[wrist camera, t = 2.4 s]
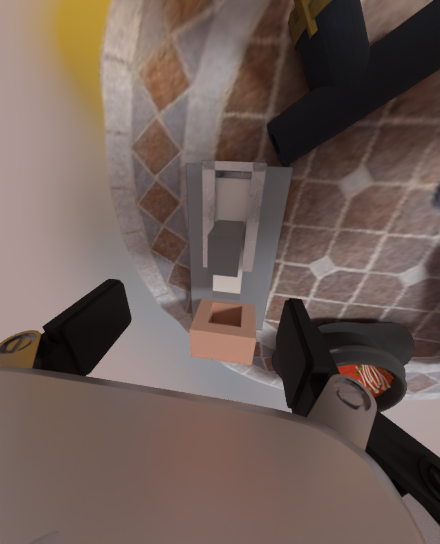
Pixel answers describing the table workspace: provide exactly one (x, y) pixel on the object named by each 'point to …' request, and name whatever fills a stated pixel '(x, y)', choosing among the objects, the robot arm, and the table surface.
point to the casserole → (369, 356)
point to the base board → (266, 243)
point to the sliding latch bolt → (228, 237)
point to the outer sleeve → (257, 177)
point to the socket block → (224, 331)
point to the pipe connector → (349, 70)
